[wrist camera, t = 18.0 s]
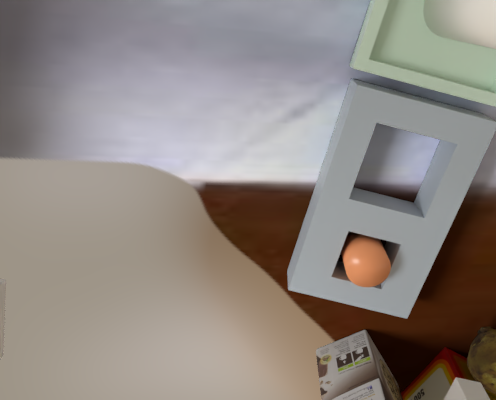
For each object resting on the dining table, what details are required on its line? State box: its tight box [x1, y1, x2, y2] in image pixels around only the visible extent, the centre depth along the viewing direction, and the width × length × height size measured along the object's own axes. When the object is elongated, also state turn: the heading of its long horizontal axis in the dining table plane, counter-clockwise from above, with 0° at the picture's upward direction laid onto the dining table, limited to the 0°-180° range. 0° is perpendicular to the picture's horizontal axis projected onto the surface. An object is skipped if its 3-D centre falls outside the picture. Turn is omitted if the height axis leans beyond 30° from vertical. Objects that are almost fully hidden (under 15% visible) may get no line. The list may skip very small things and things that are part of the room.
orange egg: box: [341, 232, 391, 287], centre depth 44 cm, size 4×4×4 cm
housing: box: [287, 79, 496, 319], centre depth 43 cm, size 12×20×4 cm, turn 166°
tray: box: [349, 0, 496, 107], centre depth 37 cm, size 13×13×2 cm
